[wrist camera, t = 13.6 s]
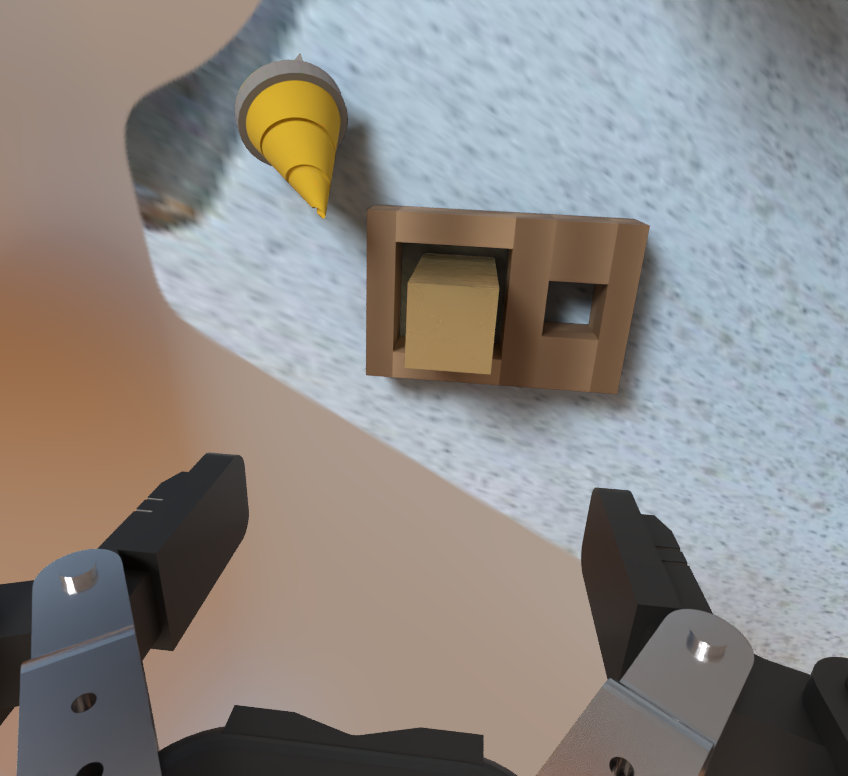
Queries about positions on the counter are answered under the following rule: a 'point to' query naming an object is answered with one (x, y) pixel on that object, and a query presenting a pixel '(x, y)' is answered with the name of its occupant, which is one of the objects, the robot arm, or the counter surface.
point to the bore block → (516, 292)
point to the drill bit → (294, 124)
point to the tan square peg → (452, 313)
